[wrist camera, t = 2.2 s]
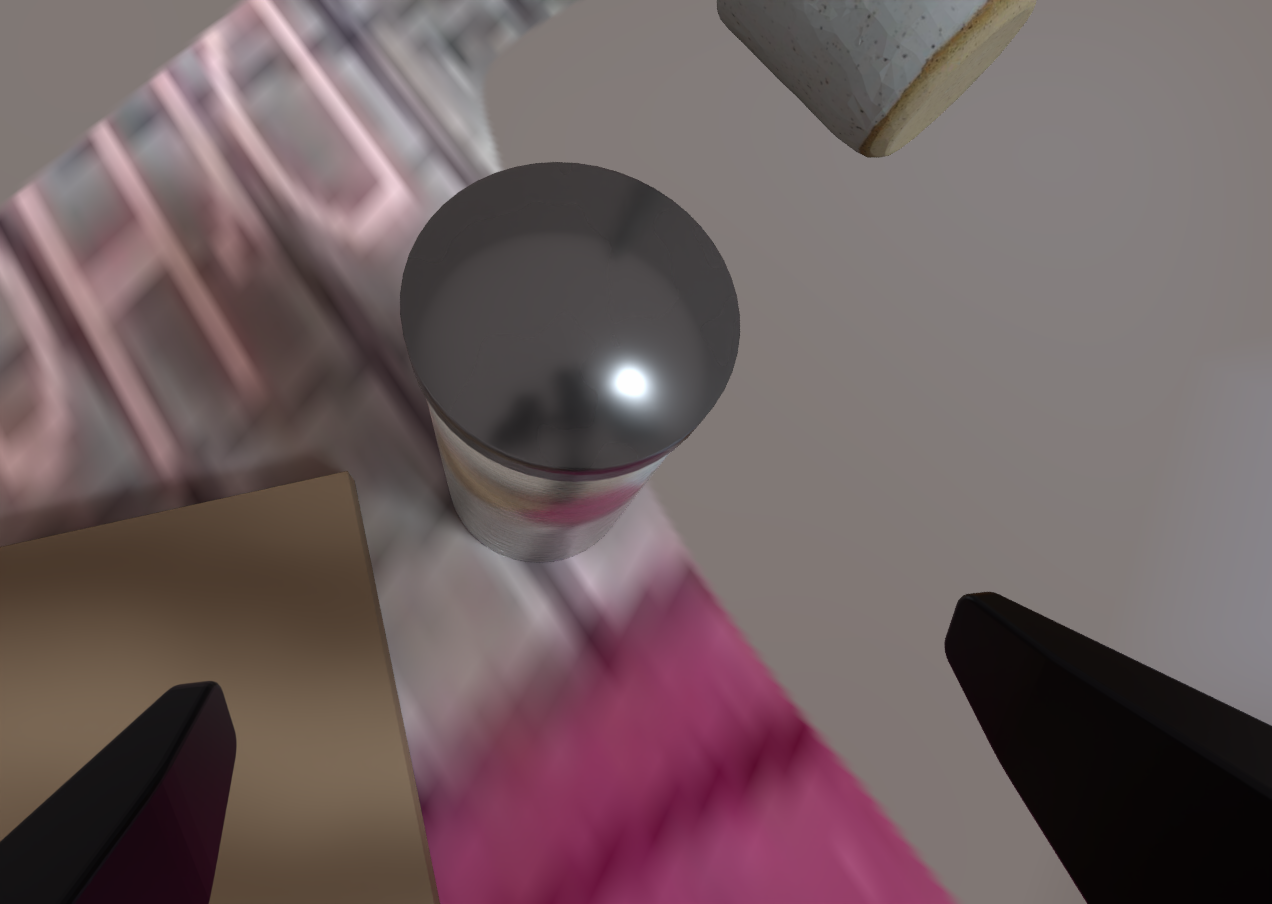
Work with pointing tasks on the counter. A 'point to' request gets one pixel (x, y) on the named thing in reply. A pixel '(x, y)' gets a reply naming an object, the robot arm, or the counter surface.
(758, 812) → the counter surface
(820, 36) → the ceramic mug
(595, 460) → the metal tin
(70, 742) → the tan wooden panel
